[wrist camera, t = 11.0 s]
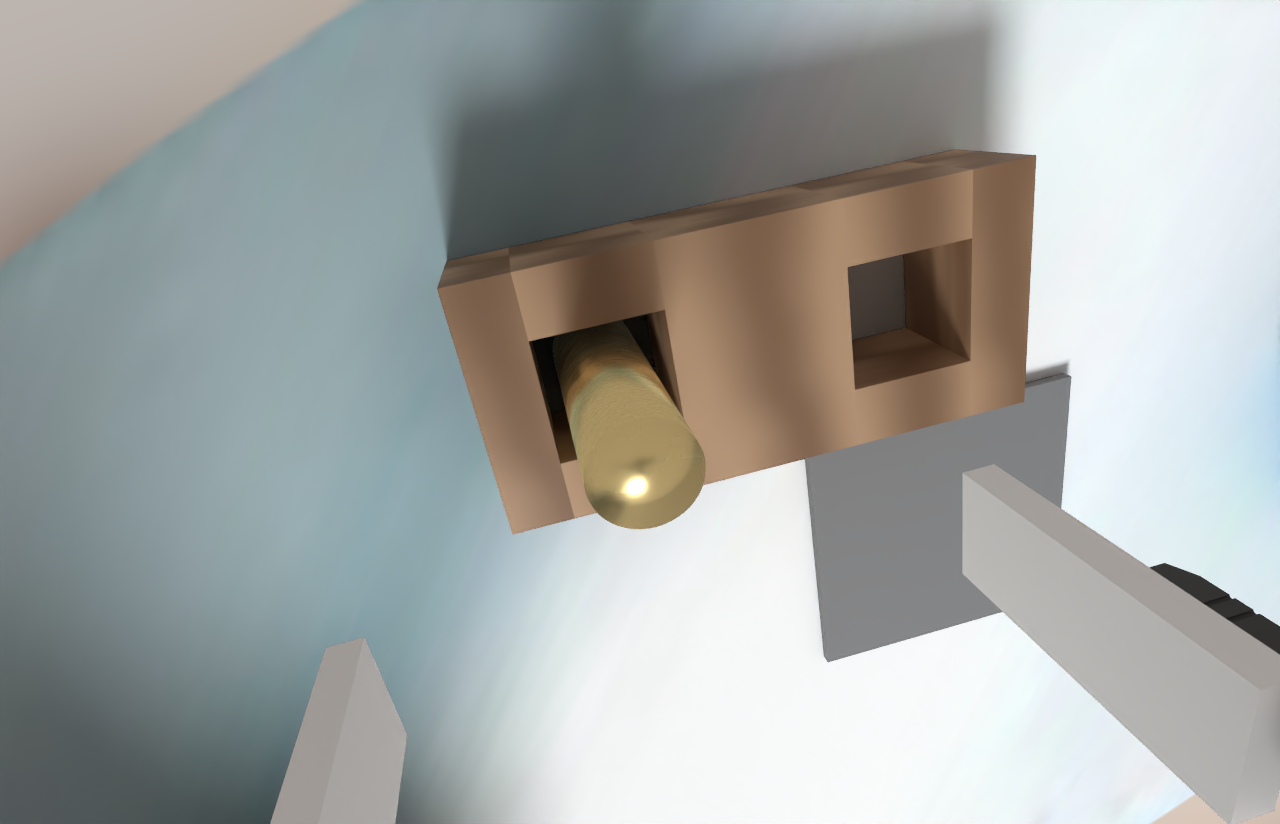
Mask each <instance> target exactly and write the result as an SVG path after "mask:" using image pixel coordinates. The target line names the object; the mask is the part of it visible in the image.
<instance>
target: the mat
mask: <svg viewBox="0 0 1280 824" xmlns="http://www.w3.org/2000/svg"><path fill="white" fill-rule="evenodd" d="M1070 386H1071V376H1069V375H1067V374H1064V373H1063V374H1059V375H1055V376H1051V377H1048V378H1044V379H1040V380H1036V381H1032V382H1028V383H1025V397H1024V402H1022V403H1018V404H1014V405H1010V406H1007V407H1003V408H999V409H995V410H991V411H987V412H983V413H980V414H976V415H972V416H968V417H964V418H960V419H956V420H953V421H949V422H945V423H941V424H937V425H933V426H929V427H926V428H922V429H918V430H914V431H910V432H906V433H902V434H898V435H895V436H891V437H887V438H883V439H879V440H875V441H871V442H868V443H864V444H860V445H856V446H852V447H848V448H844V449H841V450H837V451H833V452H829V453H825V454H821V455H817V456H814V457H810V458H806V459H805V463H806V474H807V484H808V495H809V505H810V515H811V526H812V536H813V546H814V557H815V567H816V577H817V588H818V598H819V609H820V619H821V629H822V640H823V650H824V657H825V658H826V660H827V662H830V661H834V660H837V659H841V658H844V657H848V656H851V655H855V654H858V653H862V652H865V651H868V650H872V649H875V648H879V647H882V646H886V645H889V644H893V643H896V642H900V641H903V640H906V639H910V638H913V637H917V636H920V635H924V634H927V633H931V632H934V631H938V630H941V629H944V628H948V627H951V626H955V625H958V624H962V623H965V622H969V621H972V620H976V619H979V618H982V617H986V616H989V615H993V614H996V613H1000V612H1003V611H1001V610H1000V609H999V608H998V607H997V606H996V605H995V604H994V603H993V602H992V601H991V600H990V599H989V598H988V597H987V596H986V595H985V594H983V593H982V592H981V591H980V590H979V589H978V588H977V587H976V586H975V585H974V584H973V583H972V582H971V581H970V580H969V579H968V578H966V577H965V576H964V575H963V574H962V537H963V473H964V472H967V471H971V470H975V469H978V468H982V467H986V466H989V465H993V464H995V465H996V466H998V467H999V468H1001V469H1002V470H1004V471H1005V472H1007V473H1008V474H1010V475H1011V476H1013V477H1014V478H1016V479H1017V480H1019V481H1020V482H1022V483H1023V484H1025V485H1026V486H1028V487H1029V488H1031V489H1032V490H1034V491H1035V492H1037V493H1038V494H1040V495H1041V496H1043V497H1044V498H1046V499H1047V500H1049V501H1050V502H1052V503H1053V504H1055V505H1056V506H1058V507H1059V508H1061V503H1062V490H1063V477H1064V464H1065V451H1066V438H1067V425H1068V412H1069V399H1070Z"/></svg>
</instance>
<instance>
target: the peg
mask: <svg viewBox="0 0 1280 824" xmlns="http://www.w3.org/2000/svg"><path fill="white" fill-rule="evenodd" d="M552 349H553V358H554V362H555V366H556V370H557V375H558V379H559V383H560V387H561V392H562V396H563V400H564V404H565V409H566V413H567V417H568V421H569V425H570V430H571V434H572V438H573V442H574V447H575V451H576V455H577V459H578V463H579V468H580V472H581V476H582V480H583V485H584V489H585V492H586V495H587V498H588V500H589V502H590V504H591V505H592V507H593V508H594V510H595V511H596V512H597V513H598V514H599V515H600V516H602V517H603V518H604V519H606V520H607V521H609V522H611V523H613V524H615V525H618V526H621V527H625V528H631V529H647V528H653V527H657V526H660V525H663V524H666V523H668V522H670V521H672V520H674V519H675V518H677V517H678V516H680V515H681V514H682V513H684V512H685V511H686V510H687V509H688V508H689V507H690V506H691V505H692V504H693V502H694V501H695V500H696V498H697V497H698V495H699V493H700V491H701V489H702V486H703V483H704V479H705V474H706V463H705V457H704V453H703V450H702V448H701V446H700V444H699V442H698V441H697V439H696V438H695V436H694V434H693V433H692V431H691V429H690V428H689V426H688V425H687V423H686V421H685V420H684V418H683V417H682V415H681V413H680V412H679V410H678V409H677V407H676V405H675V404H674V402H673V400H672V399H671V397H670V396H669V394H668V392H667V391H666V389H665V388H664V386H663V384H662V383H661V381H660V380H659V378H658V376H657V375H656V373H655V371H654V370H653V368H652V367H651V365H650V363H649V362H648V360H647V359H646V357H645V355H644V354H643V352H642V351H641V349H640V347H639V346H638V344H637V342H636V341H635V339H634V338H633V336H632V334H631V333H630V331H629V330H628V328H627V326H626V325H625V324H624V322H623V321H622V320H619V321H614V322H610V323H606V324H601V325H597V326H593V327H589V328H584V329H580V330H576V331H571V332H567V333H563V334H559V335H555V337H554V340H553V347H552Z"/></svg>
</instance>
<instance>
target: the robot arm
mask: <svg viewBox="0 0 1280 824" xmlns="http://www.w3.org/2000/svg"><path fill="white" fill-rule="evenodd" d="M962 574H963V575H964V576H965V577H966V578H968V579H969V580H970V581H971V582H972V583H973V584H974V585H975V586H976V587H977V588H978V589H979V590H980V591H981V592H982V593H983V594H985V595H986V596H987V597H988V598H989V599H990V600H991V601H992V602H993V603H994V604H995V605H996V606H997V607H998V608H999V609H1000V610H1001V611H1003V612H1004V613H1005V614H1006V615H1007V616H1008V617H1009V618H1010V619H1011V620H1012V621H1013V622H1014V623H1015V624H1016V625H1017V626H1018V627H1019V628H1021V629H1022V630H1023V631H1024V632H1025V633H1026V634H1027V635H1028V636H1029V637H1030V638H1031V639H1032V640H1033V641H1034V642H1035V643H1036V644H1037V645H1039V646H1040V647H1041V648H1042V649H1043V650H1044V651H1045V652H1046V653H1047V654H1048V655H1049V656H1050V657H1051V658H1052V659H1053V660H1054V661H1056V662H1057V663H1058V664H1059V665H1060V666H1061V667H1062V668H1063V669H1064V670H1065V671H1066V672H1067V673H1068V674H1069V675H1070V676H1071V677H1072V678H1074V679H1075V680H1076V681H1077V682H1078V683H1079V684H1080V685H1081V686H1082V687H1083V688H1084V689H1085V690H1086V691H1087V692H1088V693H1089V694H1090V695H1092V696H1093V697H1094V698H1095V699H1096V700H1097V701H1098V702H1099V703H1100V704H1101V705H1102V706H1103V707H1104V708H1105V709H1106V710H1107V711H1109V712H1110V713H1111V714H1112V715H1113V716H1114V717H1115V718H1116V719H1117V720H1118V721H1119V722H1120V723H1121V724H1122V725H1123V726H1124V727H1125V728H1127V729H1128V730H1129V731H1130V732H1131V733H1132V734H1133V735H1134V736H1135V737H1136V738H1137V739H1138V740H1139V741H1140V742H1141V743H1142V744H1143V745H1145V746H1146V747H1147V748H1148V749H1149V750H1150V751H1151V752H1152V753H1153V754H1154V755H1155V756H1156V757H1157V758H1158V759H1159V760H1160V761H1162V762H1163V763H1164V764H1165V765H1166V766H1167V767H1168V768H1169V769H1170V770H1171V771H1172V772H1173V773H1174V774H1175V775H1176V776H1177V777H1178V778H1180V779H1181V780H1182V781H1183V782H1184V783H1185V784H1186V785H1187V786H1188V787H1189V788H1190V789H1191V790H1192V791H1193V792H1194V793H1195V794H1196V795H1198V796H1199V797H1200V798H1201V799H1202V800H1203V801H1204V802H1205V803H1206V804H1207V805H1208V806H1209V807H1210V808H1211V809H1212V810H1213V811H1215V812H1216V813H1217V814H1218V815H1219V816H1220V817H1221V818H1222V819H1223V820H1224V821H1225V822H1226V823H1227V824H1238V823H1241V822H1243V821H1246V820H1249V819H1252V818H1255V817H1258V816H1261V815H1264V814H1267V813H1269V812H1272V811H1274V810H1275V806H1276V802H1277V798H1278V794H1279V790H1280V626H1278V625H1277V624H1275V623H1273V622H1272V621H1270V620H1269V619H1267V618H1265V617H1264V616H1262V615H1261V614H1255V613H1254V611H1253V609H1251V608H1250V607H1248V606H1246V605H1245V604H1243V603H1242V602H1240V601H1239V600H1237V599H1231V598H1230V596H1229V594H1227V593H1226V592H1224V591H1223V590H1221V589H1220V588H1218V587H1216V586H1215V585H1213V584H1212V583H1210V582H1208V581H1207V580H1205V579H1204V578H1202V577H1201V576H1198V575H1196V574H1193V573H1190V572H1187V571H1185V570H1182V569H1179V568H1177V567H1174V566H1171V565H1169V564H1166V563H1163V564H1160V565H1156V566H1153V567H1150V568H1149V567H1148V566H1146V565H1145V564H1143V563H1142V562H1140V561H1139V560H1137V559H1136V558H1134V557H1133V556H1131V555H1130V554H1128V553H1127V552H1125V551H1124V550H1122V549H1121V548H1119V547H1118V546H1116V545H1115V544H1113V543H1112V542H1110V541H1109V540H1107V539H1106V538H1104V537H1103V536H1101V535H1100V534H1098V533H1097V532H1095V531H1094V530H1092V529H1091V528H1089V527H1088V526H1086V525H1085V524H1083V523H1082V522H1080V521H1079V520H1077V519H1076V518H1074V517H1073V516H1071V515H1070V514H1068V513H1067V512H1065V511H1064V510H1062V509H1061V508H1059V507H1058V506H1056V505H1055V504H1053V503H1052V502H1050V501H1049V500H1047V499H1046V498H1044V497H1043V496H1041V495H1040V494H1038V493H1037V492H1035V491H1034V490H1032V489H1031V488H1029V487H1028V486H1026V485H1025V484H1023V483H1022V482H1020V481H1019V480H1017V479H1016V478H1014V477H1013V476H1011V475H1010V474H1008V473H1007V472H1005V471H1004V470H1002V469H1001V468H999V467H998V466H996V465H995V464H993V465H989V466H986V467H982V468H978V469H975V470H971V471H967V472H964V473H963V537H962ZM406 742H407V734H406V731H405V729H404V727H403V724H402V722H401V720H400V718H399V715H398V713H397V711H396V708H395V706H394V704H393V702H392V699H391V697H390V695H389V692H388V690H387V688H386V686H385V683H384V681H383V679H382V676H381V674H380V672H379V670H378V667H377V665H376V663H375V660H374V658H373V656H372V654H371V651H370V649H369V647H368V644H367V642H366V640H365V638H364V637H363V638H360V639H356V640H352V641H349V642H345V643H342V644H338V645H334V646H331V647H327V648H326V649H325V652H324V655H323V658H322V661H321V665H320V668H319V671H318V674H317V677H316V680H315V684H314V687H313V690H312V693H311V696H310V699H309V703H308V706H307V709H306V712H305V715H304V718H303V721H302V725H301V728H300V731H299V734H298V737H297V740H296V744H295V747H294V750H293V753H292V756H291V759H290V763H289V766H288V769H287V772H286V775H285V778H284V781H283V785H282V788H281V791H280V794H279V797H278V800H277V804H276V807H275V810H274V813H273V816H272V819H271V823H270V824H395V822H396V815H397V807H398V800H399V793H400V786H401V778H402V771H403V764H404V756H405V749H406Z"/></svg>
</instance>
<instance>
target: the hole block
mask: <svg viewBox="0 0 1280 824" xmlns="http://www.w3.org/2000/svg"><path fill="white" fill-rule="evenodd" d="M1035 169H1036V155H1024V154H1010V153H996V152H983V151H969V150H951V151H947V152H942V153H938V154H933V155H928V156H924V157H919V158H915V159H910V160H906V161H901V162H896V163H892V164H887V165H883V166H878V167H874V168H869V169H865V170H860V171H855V172H851V173H846V174H842V175H837V176H833V177H828V178H823V179H819V180H814V181H810V182H805V183H801V184H796V185H792V186H787V187H782V188H778V189H773V190H769V191H764V192H760V193H755V194H750V195H746V196H741V197H737V198H732V199H728V200H723V201H719V202H714V203H709V204H705V205H700V206H696V207H691V208H687V209H682V210H677V211H673V212H668V213H664V214H659V215H655V216H650V217H645V218H641V219H636V220H632V221H627V222H623V223H618V224H614V225H609V226H604V227H600V228H595V229H591V230H586V231H582V232H577V233H572V234H568V235H563V236H559V237H554V238H550V239H545V240H541V241H536V242H531V243H527V244H522V245H518V246H513V247H509V248H504V249H499V250H495V251H490V252H486V253H481V254H477V255H472V256H468V257H463V258H458V259H454V260H449V261H446V264H445V267H444V270H443V273H442V276H441V279H440V282H439V285H438V288H437V290H438V293H439V297H440V300H441V303H442V306H443V310H444V313H445V316H446V319H447V323H448V326H449V329H450V332H451V336H452V339H453V342H454V345H455V349H456V352H457V355H458V358H459V362H460V365H461V368H462V371H463V375H464V378H465V381H466V384H467V388H468V391H469V394H470V397H471V401H472V404H473V407H474V410H475V414H476V417H477V420H478V423H479V427H480V430H481V433H482V436H483V440H484V443H485V446H486V449H487V453H488V456H489V459H490V462H491V466H492V469H493V472H494V475H495V479H496V482H497V485H498V488H499V492H500V495H501V498H502V501H503V505H504V508H505V511H506V514H507V518H508V521H509V524H510V527H511V531H512V534H516V533H520V532H524V531H528V530H532V529H536V528H540V527H543V526H547V525H551V524H555V523H559V522H563V521H567V520H570V519H574V518H578V517H582V516H586V515H590V514H594V513H597V512H596V511H595V510H594V508H593V507H592V505H591V504H590V502H589V500H588V498H587V495H586V492H585V489H584V485H583V480H582V476H581V472H580V468H579V463H578V459H577V455H576V451H575V447H574V442H573V438H572V434H571V430H570V425H569V421H568V417H567V413H566V410H565V411H561V412H557V413H553V414H551V411H550V407H549V403H548V399H547V395H546V392H545V388H544V384H543V380H542V376H541V372H540V368H539V364H538V361H537V357H536V353H535V349H534V345H533V340H537V339H541V338H546V337H550V336H554V335H559V334H563V333H567V332H571V331H576V330H580V329H584V328H589V327H593V326H597V325H601V324H606V323H610V322H614V321H619V320H623V319H627V318H632V317H636V316H640V315H644V314H646V318H647V324H648V329H649V335H650V340H651V345H652V351H653V356H654V362H655V367H656V372H657V376H658V378H659V380H660V381H661V383H662V384H663V386H664V388H665V389H666V391H667V392H668V394H669V396H670V397H671V399H672V400H673V402H674V404H675V405H676V407H677V409H678V410H679V412H680V413H681V415H682V417H683V418H684V420H685V421H686V423H687V425H688V426H689V428H690V429H691V431H692V433H693V434H694V436H695V438H696V439H697V441H698V442H699V444H700V446H701V448H702V450H703V453H704V457H705V463H706V474H705V479H704V483H703V485H706V484H709V483H713V482H717V481H721V480H725V479H729V478H733V477H736V476H740V475H744V474H748V473H752V472H756V471H760V470H763V469H767V468H771V467H775V466H779V465H783V464H787V463H790V462H794V461H798V460H802V459H806V458H810V457H814V456H817V455H821V454H825V453H829V452H833V451H837V450H841V449H844V448H848V447H852V446H856V445H860V444H864V443H868V442H871V441H875V440H879V439H883V438H887V437H891V436H895V435H898V434H902V433H906V432H910V431H914V430H918V429H922V428H926V427H929V426H933V425H937V424H941V423H945V422H949V421H953V420H956V419H960V418H964V417H968V416H972V415H976V414H980V413H983V412H987V411H991V410H995V409H999V408H1003V407H1007V406H1010V405H1014V404H1018V403H1022V402H1024V397H1025V376H1026V355H1027V335H1028V314H1029V293H1030V273H1031V252H1032V231H1033V210H1034V190H1035ZM902 254H904V280H905V317H906V328H902V329H898V330H894V331H890V332H886V333H881V334H877V335H873V336H869V337H865V338H861V339H857V340H853V341H852V334H851V317H850V301H849V284H848V268H847V267H851V266H855V265H859V264H863V263H868V262H872V261H876V260H881V259H885V258H889V257H894V256H898V255H902Z"/></svg>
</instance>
